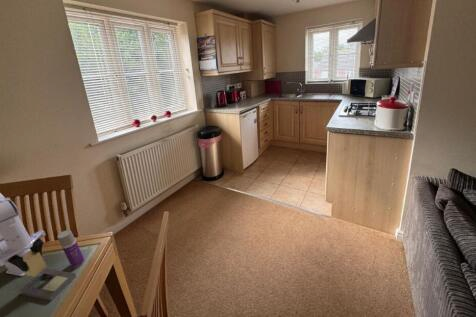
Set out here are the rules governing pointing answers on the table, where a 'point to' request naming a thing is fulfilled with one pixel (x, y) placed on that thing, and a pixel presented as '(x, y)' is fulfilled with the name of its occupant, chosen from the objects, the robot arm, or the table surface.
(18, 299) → the table surface
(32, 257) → the tan rectangular block
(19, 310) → the table surface
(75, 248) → the container
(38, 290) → the rail plate
